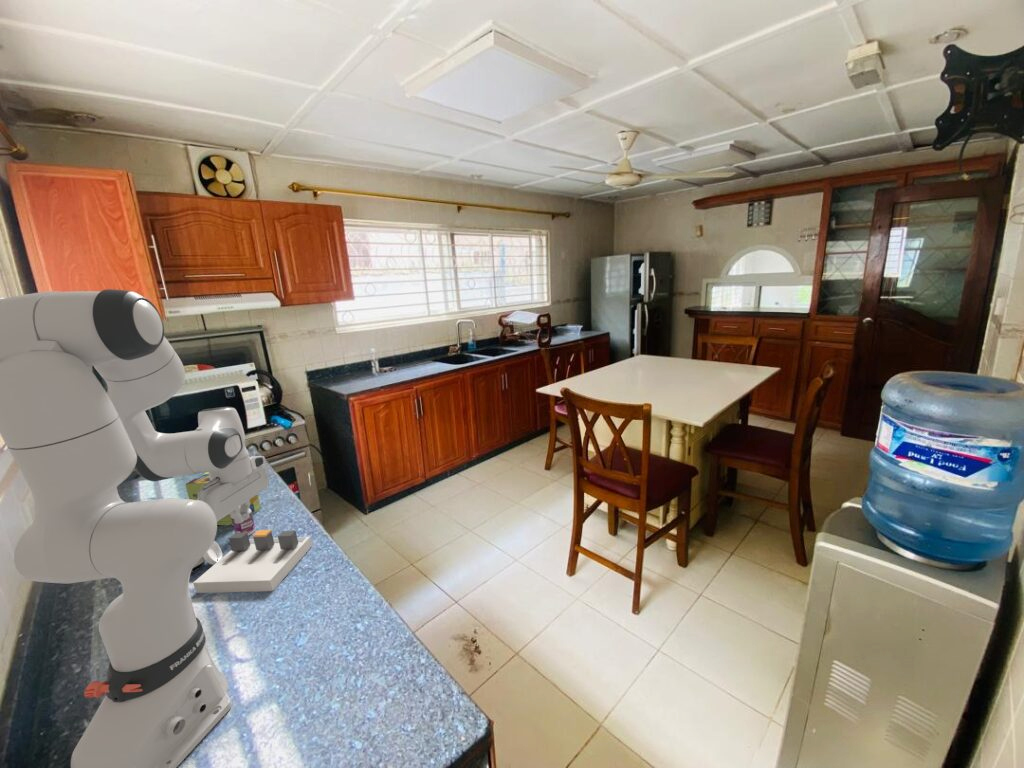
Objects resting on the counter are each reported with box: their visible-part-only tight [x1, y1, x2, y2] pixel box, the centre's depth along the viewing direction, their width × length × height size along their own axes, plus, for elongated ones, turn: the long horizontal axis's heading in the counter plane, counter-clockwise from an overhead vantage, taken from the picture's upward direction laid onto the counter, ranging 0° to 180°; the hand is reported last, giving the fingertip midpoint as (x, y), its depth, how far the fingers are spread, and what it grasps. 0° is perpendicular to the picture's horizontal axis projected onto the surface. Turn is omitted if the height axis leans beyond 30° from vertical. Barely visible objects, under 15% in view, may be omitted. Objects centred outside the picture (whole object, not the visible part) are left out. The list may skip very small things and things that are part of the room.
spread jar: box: [191, 540, 223, 573], centre depth 111 cm, size 12×11×12 cm
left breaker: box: [228, 532, 250, 551], centre depth 112 cm, size 2×4×4 cm, turn 86°
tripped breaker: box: [252, 529, 274, 550], centre depth 112 cm, size 2×4×4 cm, turn 87°
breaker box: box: [192, 536, 313, 594], centre depth 109 cm, size 18×20×3 cm
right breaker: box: [277, 530, 298, 549], centre depth 111 cm, size 2×4×4 cm, turn 86°
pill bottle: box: [231, 508, 256, 536], centre depth 126 cm, size 5×5×10 cm
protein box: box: [184, 472, 262, 526], centre depth 136 cm, size 10×15×16 cm
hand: (242, 520), depth 104 cm, fingers closed
